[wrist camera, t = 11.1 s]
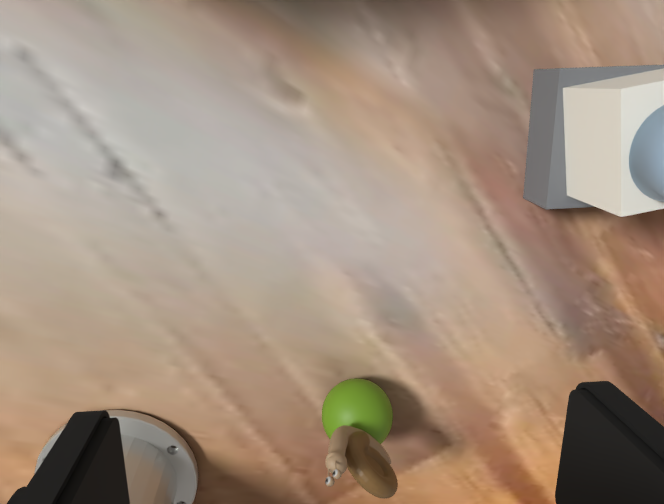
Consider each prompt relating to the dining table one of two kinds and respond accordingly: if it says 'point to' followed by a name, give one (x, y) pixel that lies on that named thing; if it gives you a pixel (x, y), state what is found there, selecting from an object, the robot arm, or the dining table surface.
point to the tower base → (557, 131)
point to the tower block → (608, 139)
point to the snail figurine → (359, 435)
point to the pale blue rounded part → (649, 156)
